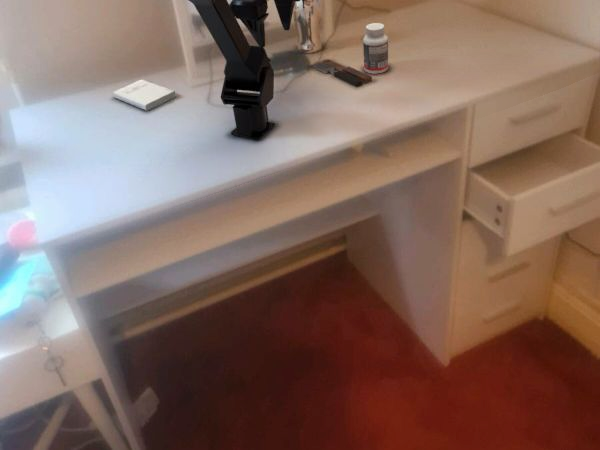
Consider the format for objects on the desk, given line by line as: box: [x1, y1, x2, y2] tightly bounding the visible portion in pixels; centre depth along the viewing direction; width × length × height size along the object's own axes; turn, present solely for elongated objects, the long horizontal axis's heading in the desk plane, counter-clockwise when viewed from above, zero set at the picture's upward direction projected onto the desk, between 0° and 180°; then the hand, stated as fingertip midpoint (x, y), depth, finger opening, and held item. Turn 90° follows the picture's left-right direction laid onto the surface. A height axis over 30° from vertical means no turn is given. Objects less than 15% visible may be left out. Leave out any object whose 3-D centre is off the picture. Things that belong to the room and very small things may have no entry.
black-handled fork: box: [311, 61, 363, 88], centre depth 134 cm, size 16×3×1 cm, turn 34°
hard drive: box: [112, 79, 177, 112], centre depth 134 cm, size 2×8×12 cm
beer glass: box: [292, 0, 323, 54], centre depth 143 cm, size 7×7×15 cm
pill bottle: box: [362, 22, 389, 75], centre depth 131 cm, size 5×5×10 cm
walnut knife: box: [321, 59, 373, 84], centre depth 135 cm, size 16×2×1 cm, turn 34°
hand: (274, 38), depth 119 cm, fingers open, 9 cm apart
